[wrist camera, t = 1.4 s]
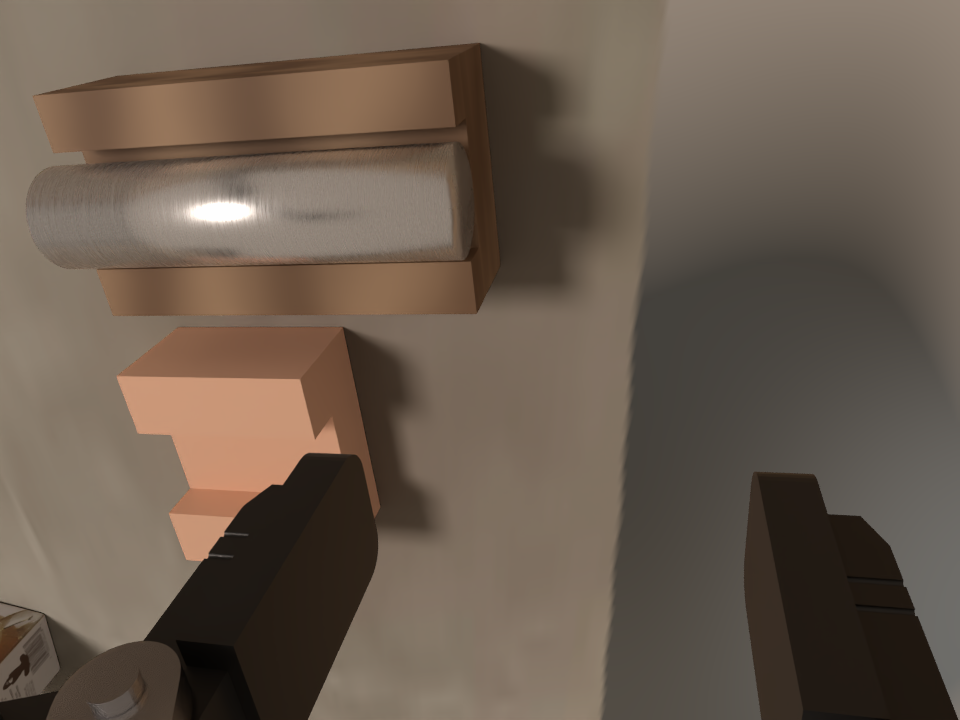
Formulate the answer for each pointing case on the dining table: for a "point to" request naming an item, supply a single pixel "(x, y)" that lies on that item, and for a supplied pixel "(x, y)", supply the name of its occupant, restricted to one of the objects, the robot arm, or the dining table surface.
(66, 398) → the dining table surface
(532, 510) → the dining table surface
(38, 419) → the dining table surface
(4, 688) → the coffee box
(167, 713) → the robot arm
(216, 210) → the steel axle
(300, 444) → the terracotta cradle
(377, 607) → the dining table surface
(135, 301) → the wooden channel bracket
